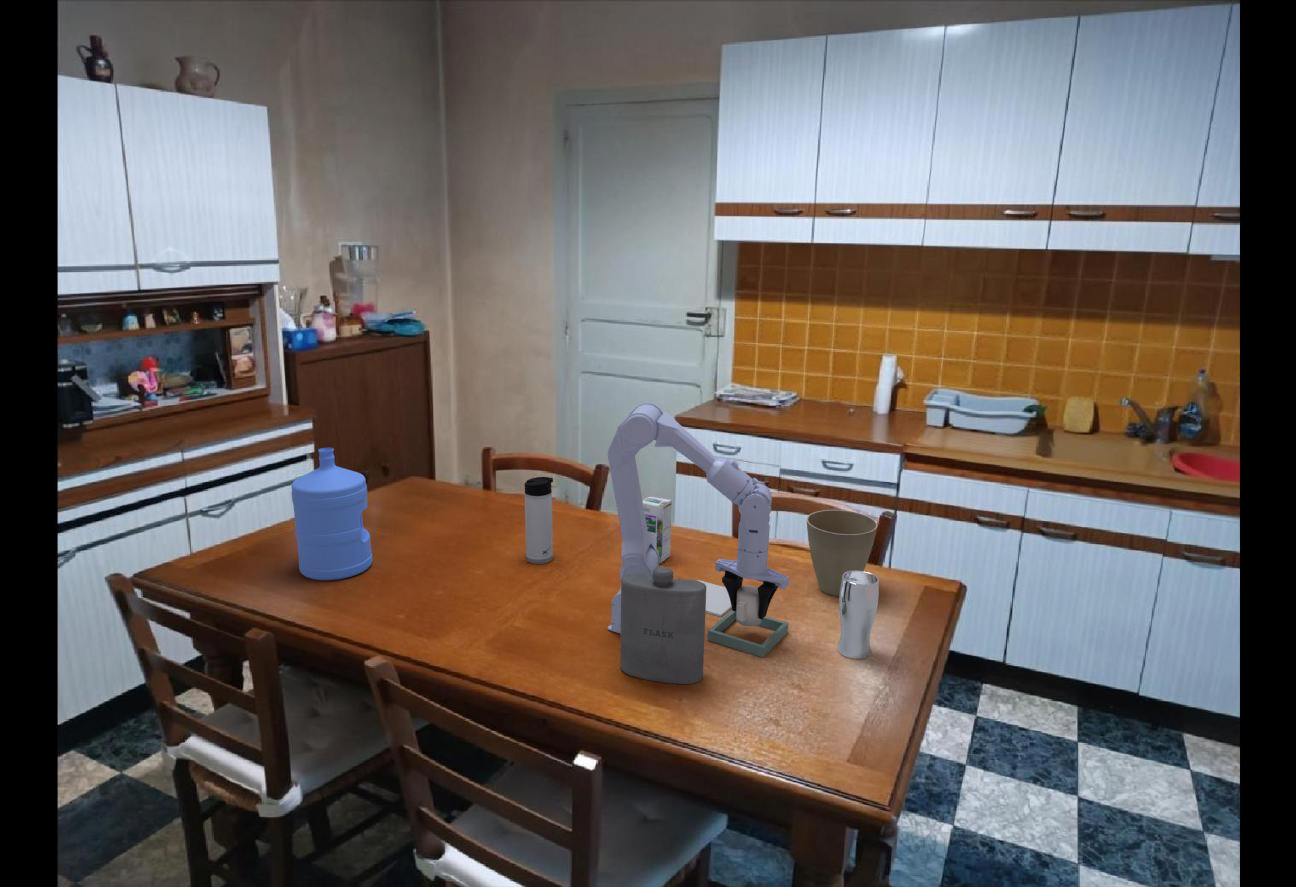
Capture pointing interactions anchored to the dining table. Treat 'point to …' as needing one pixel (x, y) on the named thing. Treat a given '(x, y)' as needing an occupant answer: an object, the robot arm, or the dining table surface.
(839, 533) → the plant pot
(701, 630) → the flask
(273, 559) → the dining table surface
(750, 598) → the jug
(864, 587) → the beer glass
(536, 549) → the travel mug
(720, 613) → the mat
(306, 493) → the water jug
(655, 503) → the syrup box
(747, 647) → the holder
